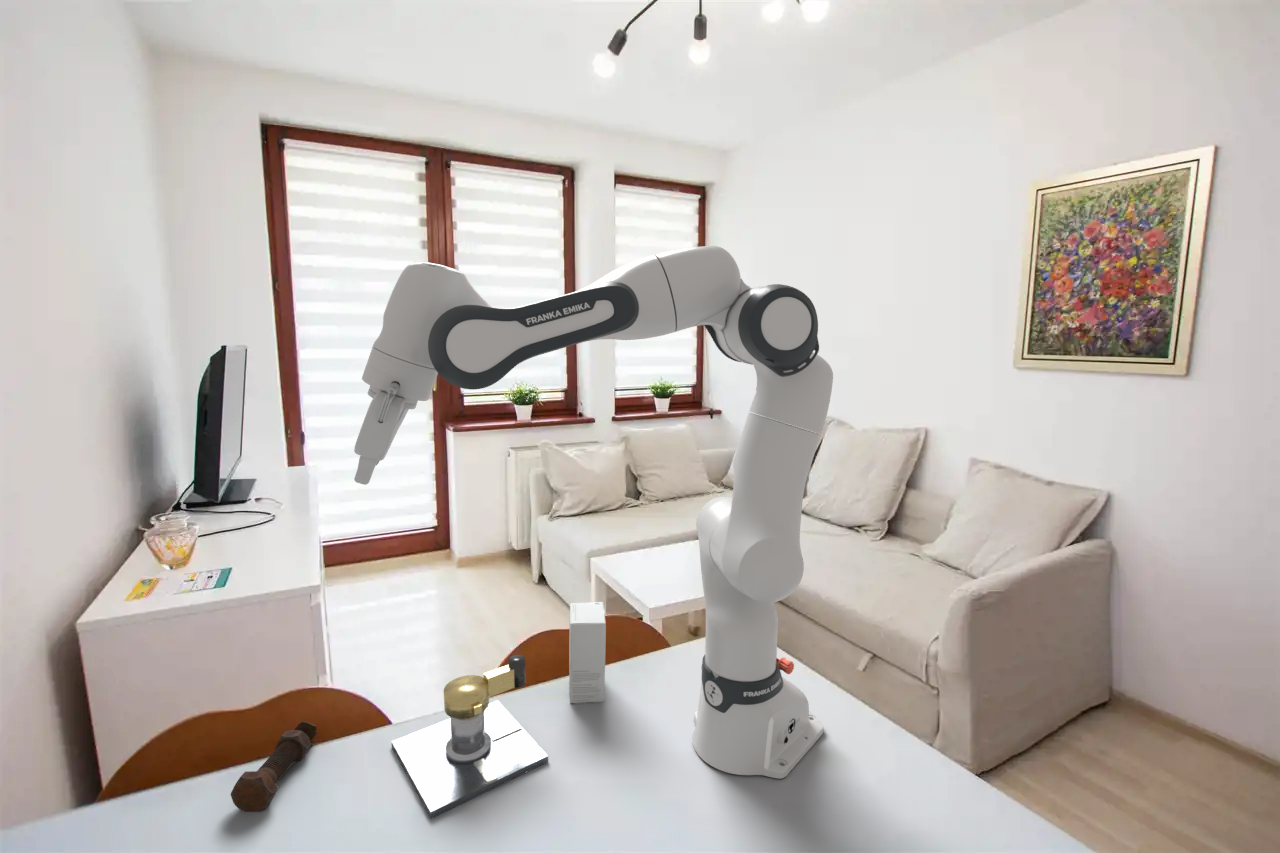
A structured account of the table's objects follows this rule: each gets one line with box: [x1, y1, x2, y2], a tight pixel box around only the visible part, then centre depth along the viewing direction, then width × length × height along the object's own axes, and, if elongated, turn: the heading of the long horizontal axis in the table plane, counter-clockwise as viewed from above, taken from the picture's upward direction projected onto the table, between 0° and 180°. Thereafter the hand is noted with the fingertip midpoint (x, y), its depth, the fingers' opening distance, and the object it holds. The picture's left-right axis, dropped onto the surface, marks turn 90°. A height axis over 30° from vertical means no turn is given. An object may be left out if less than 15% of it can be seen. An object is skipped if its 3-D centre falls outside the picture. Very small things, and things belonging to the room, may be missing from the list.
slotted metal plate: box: [391, 699, 549, 819], centre depth 93 cm, size 18×18×8 cm
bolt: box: [230, 721, 318, 813], centre depth 89 cm, size 6×5×15 cm
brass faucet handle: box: [443, 654, 526, 719], centre depth 94 cm, size 13×9×5 cm
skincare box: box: [568, 601, 607, 704], centre depth 109 cm, size 8×7×16 cm
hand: (366, 472), depth 82 cm, fingers open, 8 cm apart
